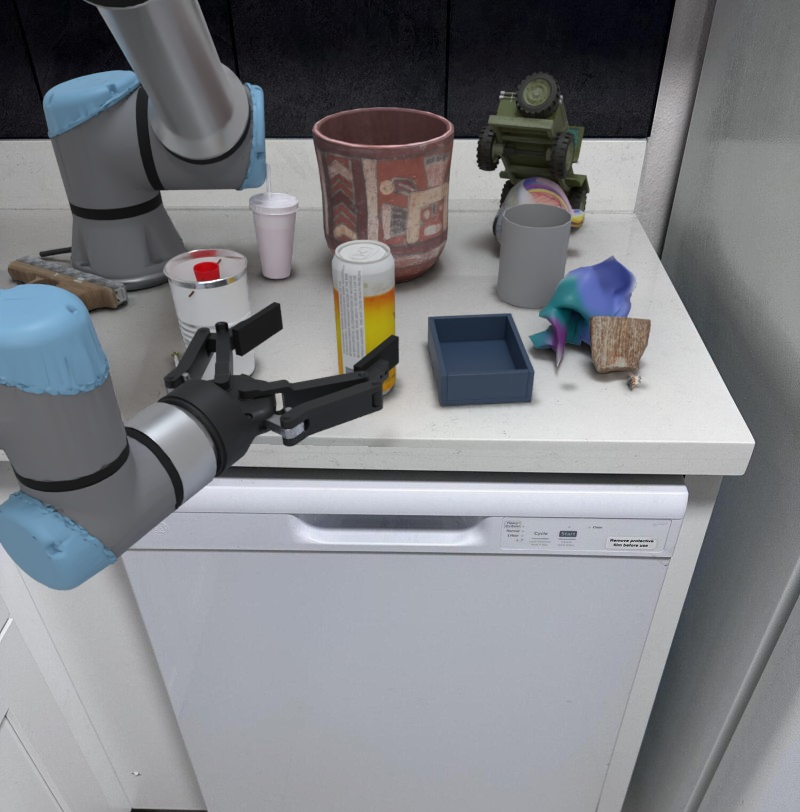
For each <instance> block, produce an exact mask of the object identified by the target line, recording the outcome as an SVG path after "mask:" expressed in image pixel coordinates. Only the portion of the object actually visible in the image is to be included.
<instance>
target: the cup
mask: <svg viewBox="0 0 800 812" xmlns="http://www.w3.org/2000/svg"><path fill="white" fill-rule="evenodd" d="M571 222H572V214H571V213H570V212H568V211H567V210H566V209H563V208H560V207H557V206H555V205H548V204H541V203H534V204H521V205H516V206H512V207H510V208H508V209H506V210H505V211H504V214H503V221H502V234H501V243H500V246H499V247H500V249H499V258H498V259H499V261H498V272H497V273H498V274H497V285H496V295H497V297H498V298H499V299H500V300H501V302H504V303H506V304H508V305H511V306H514V307H520V308H524V309H541V308H545V306H546V305H547V304H548V302H549V301H550V299H551V298H552V296H553V294H554V292H555V290H556V288H557V286H558V284H559V282H560V281H561V280H562V279H563V278H564V277H565V273H566V266H567V265H566V264H567V258H568V250H569V242H570V236H571V229H572V227H571Z"/></svg>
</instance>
